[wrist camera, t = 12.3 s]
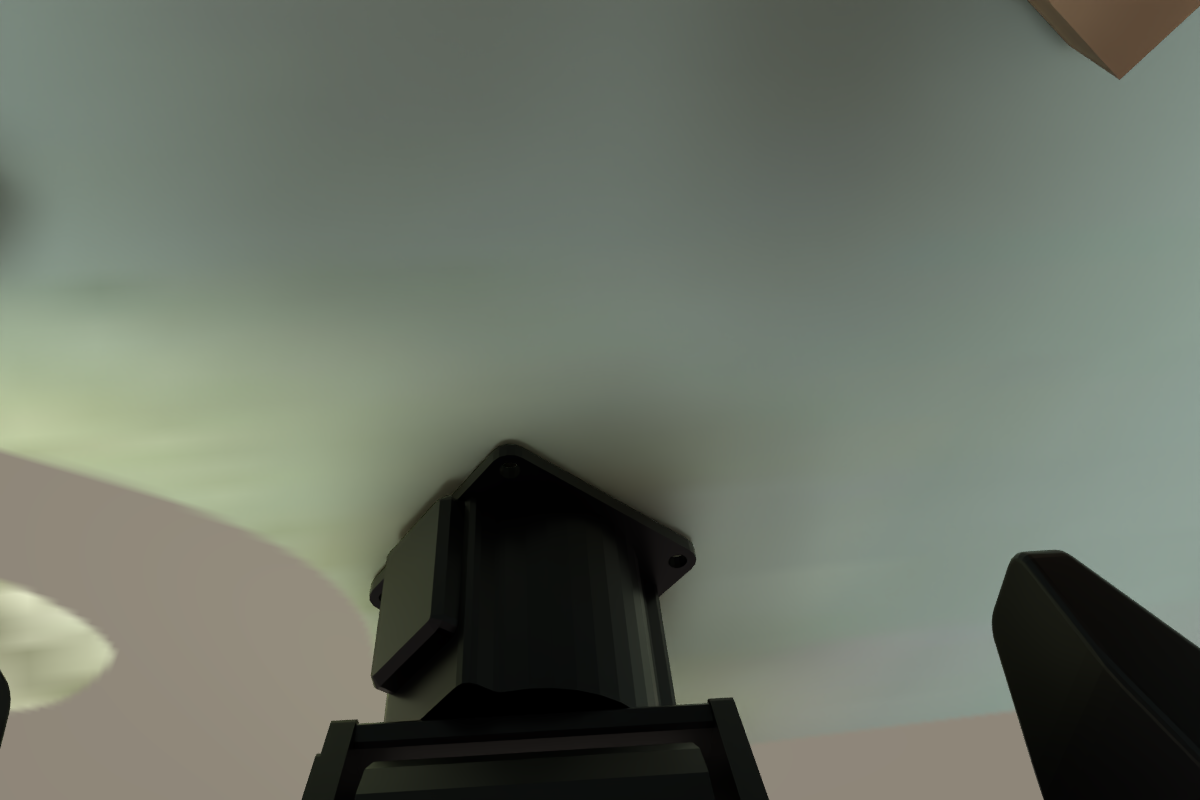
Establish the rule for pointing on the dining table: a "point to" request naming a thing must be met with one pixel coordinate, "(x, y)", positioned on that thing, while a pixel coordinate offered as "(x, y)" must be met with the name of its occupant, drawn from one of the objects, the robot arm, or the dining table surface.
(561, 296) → the dining table surface
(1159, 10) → the plate
